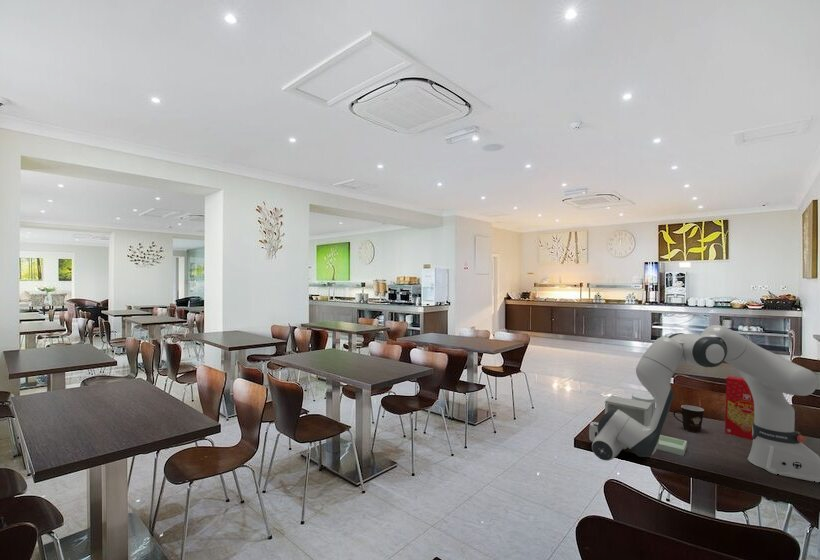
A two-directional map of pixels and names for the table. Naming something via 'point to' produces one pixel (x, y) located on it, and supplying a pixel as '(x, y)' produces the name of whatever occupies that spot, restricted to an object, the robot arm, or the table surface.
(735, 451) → the table surface
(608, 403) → the bay
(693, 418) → the coffee mug
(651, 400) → the white rounded slab
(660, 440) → the tray
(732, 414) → the food packaging
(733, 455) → the table surface
